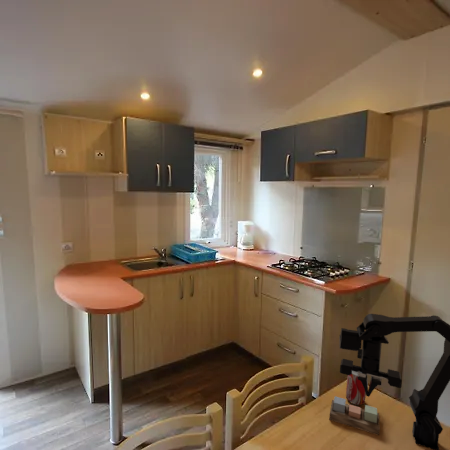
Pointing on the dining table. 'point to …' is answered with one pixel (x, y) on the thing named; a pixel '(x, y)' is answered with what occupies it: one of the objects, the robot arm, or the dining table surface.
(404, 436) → the dining table surface
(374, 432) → the brown wooden compartment tray
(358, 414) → the button terracotta
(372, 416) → the button sage
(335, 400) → the button slate
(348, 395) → the soda can
